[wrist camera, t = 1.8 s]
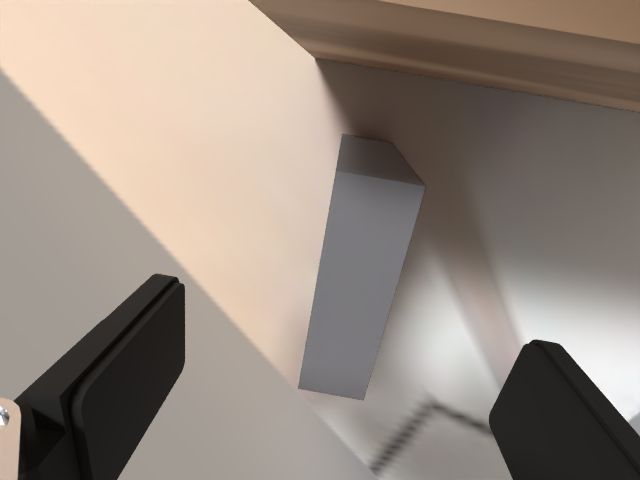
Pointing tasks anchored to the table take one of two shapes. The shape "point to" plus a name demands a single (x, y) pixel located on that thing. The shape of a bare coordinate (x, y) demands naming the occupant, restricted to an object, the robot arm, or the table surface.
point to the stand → (481, 42)
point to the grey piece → (359, 265)
